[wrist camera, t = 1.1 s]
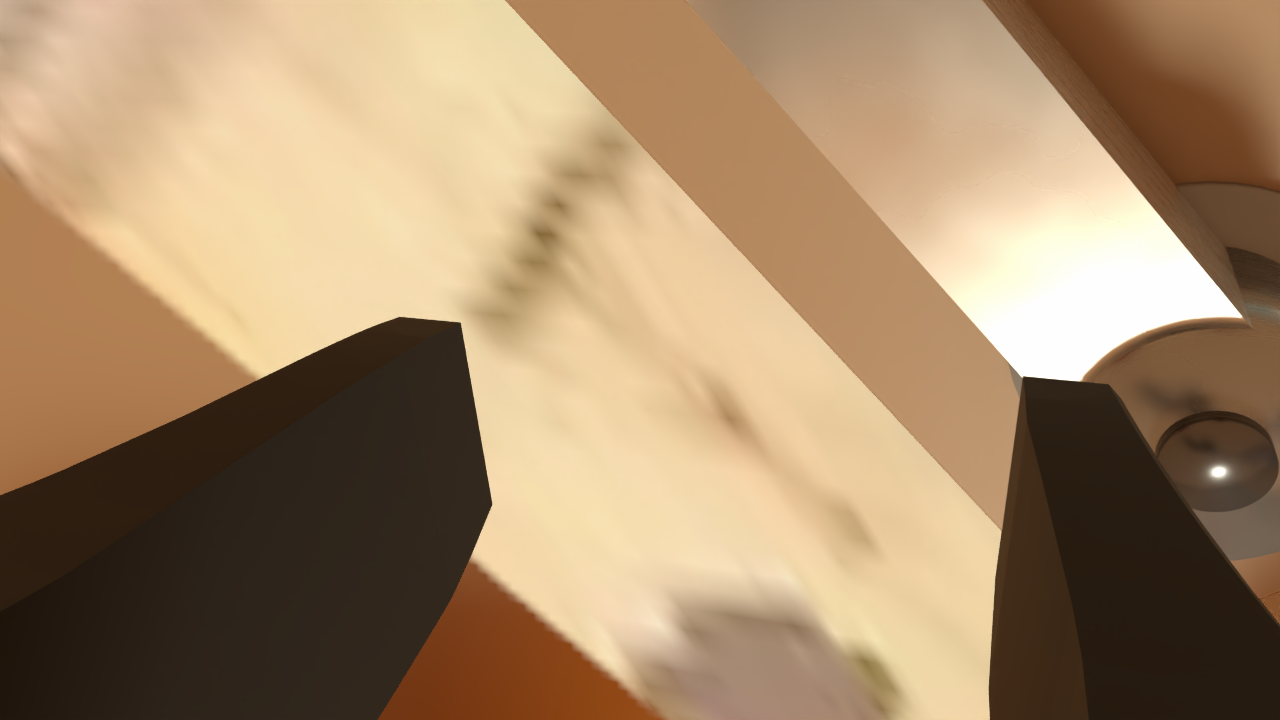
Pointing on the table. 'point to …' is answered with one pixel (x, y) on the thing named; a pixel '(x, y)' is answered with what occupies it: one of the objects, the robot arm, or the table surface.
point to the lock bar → (1042, 223)
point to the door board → (864, 245)
